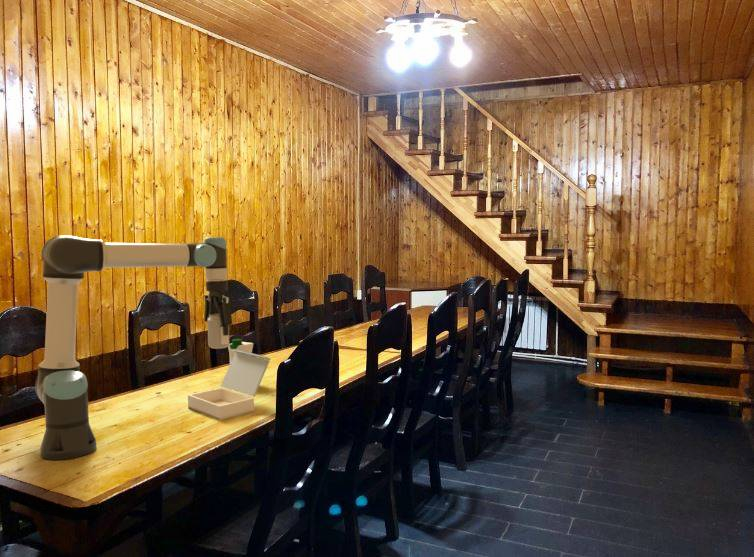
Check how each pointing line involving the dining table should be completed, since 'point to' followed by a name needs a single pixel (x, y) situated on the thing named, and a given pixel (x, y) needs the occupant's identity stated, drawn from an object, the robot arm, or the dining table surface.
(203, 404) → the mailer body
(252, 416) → the dining table surface
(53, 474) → the dining table surface
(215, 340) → the can
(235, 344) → the milk carton
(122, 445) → the dining table surface
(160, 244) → the robot arm
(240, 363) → the lid
